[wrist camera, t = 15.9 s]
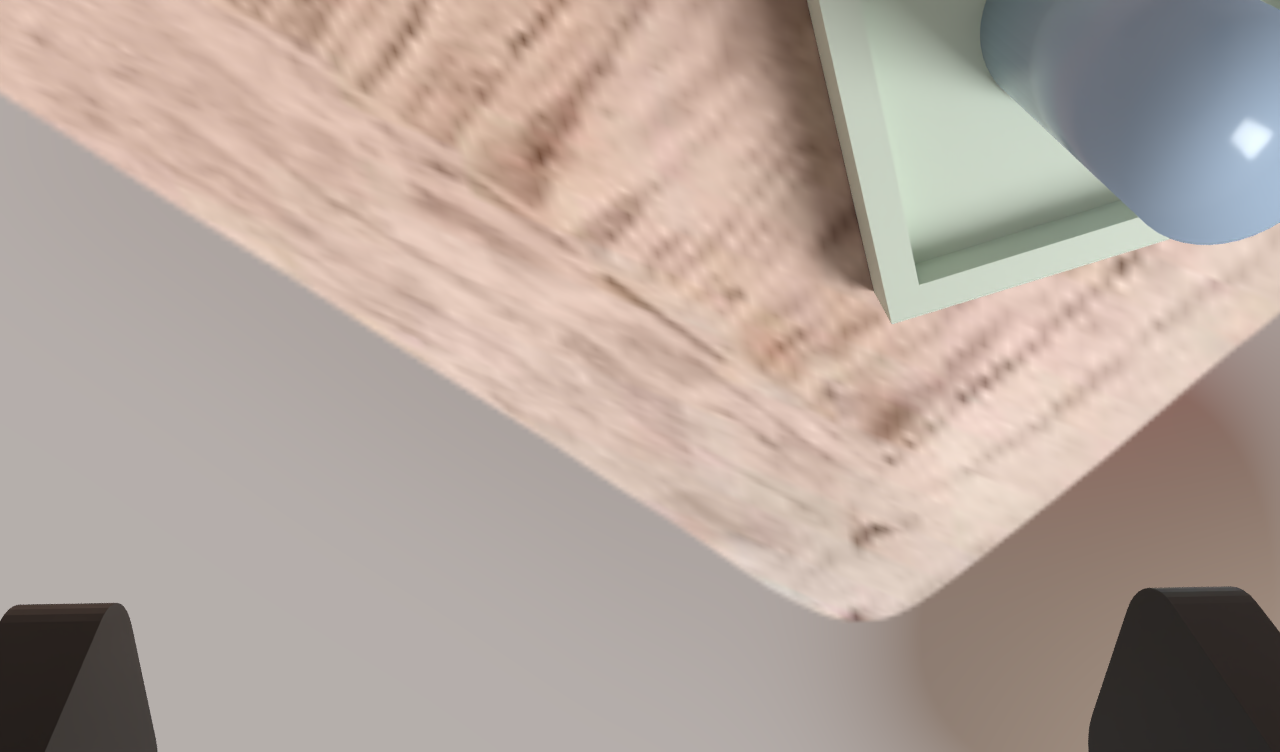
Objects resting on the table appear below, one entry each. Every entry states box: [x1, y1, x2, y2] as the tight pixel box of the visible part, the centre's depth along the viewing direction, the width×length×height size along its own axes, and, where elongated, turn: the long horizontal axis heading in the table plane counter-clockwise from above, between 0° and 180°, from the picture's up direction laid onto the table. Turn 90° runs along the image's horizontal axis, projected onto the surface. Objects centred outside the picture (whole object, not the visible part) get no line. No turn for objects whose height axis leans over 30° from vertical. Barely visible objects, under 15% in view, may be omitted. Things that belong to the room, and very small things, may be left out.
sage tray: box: [807, 0, 1280, 324], centre depth 39 cm, size 16×16×2 cm
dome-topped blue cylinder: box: [980, 0, 1280, 245], centre depth 35 cm, size 6×6×11 cm
